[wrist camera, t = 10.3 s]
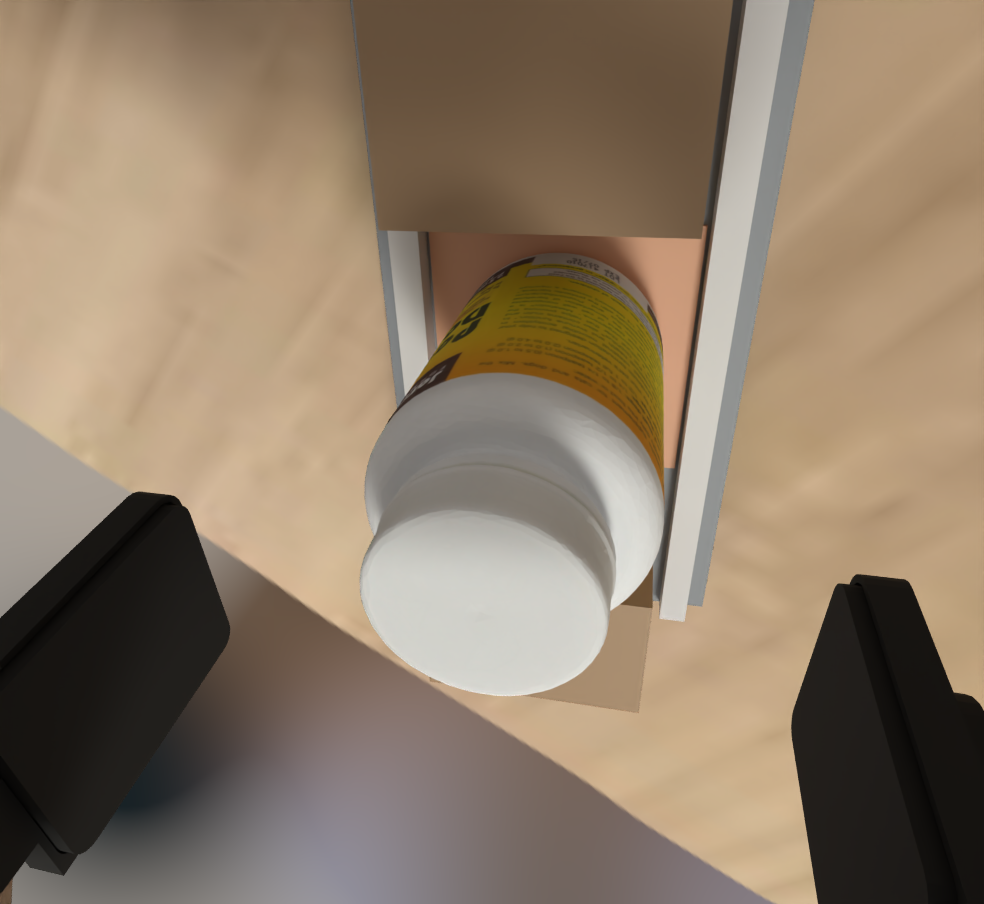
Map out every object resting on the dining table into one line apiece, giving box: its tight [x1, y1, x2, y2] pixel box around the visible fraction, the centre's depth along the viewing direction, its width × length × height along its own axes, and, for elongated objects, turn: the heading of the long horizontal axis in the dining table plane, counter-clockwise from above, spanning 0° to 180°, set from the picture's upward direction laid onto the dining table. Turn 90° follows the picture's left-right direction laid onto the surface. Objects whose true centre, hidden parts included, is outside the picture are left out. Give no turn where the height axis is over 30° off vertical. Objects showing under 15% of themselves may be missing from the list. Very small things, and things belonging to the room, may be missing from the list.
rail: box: [350, 0, 814, 713], centre depth 18 cm, size 18×10×6 cm, turn 2°
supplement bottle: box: [360, 253, 664, 696], centre depth 15 cm, size 6×6×10 cm
